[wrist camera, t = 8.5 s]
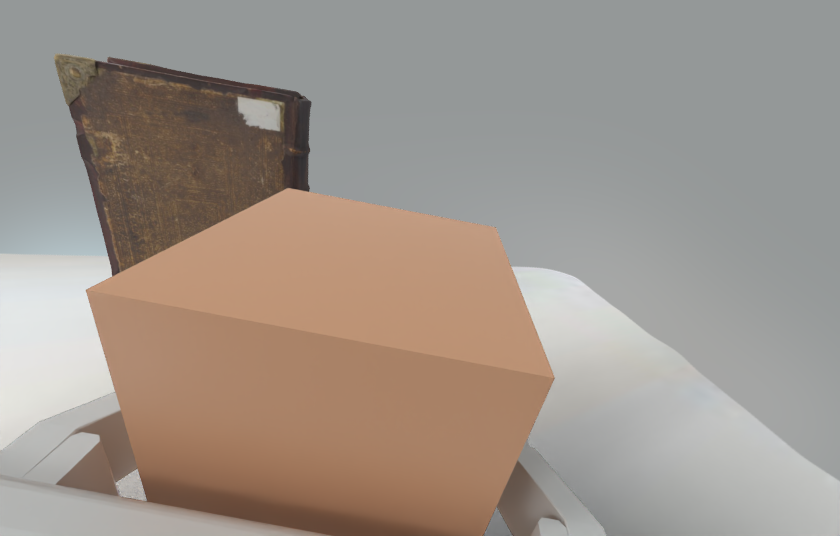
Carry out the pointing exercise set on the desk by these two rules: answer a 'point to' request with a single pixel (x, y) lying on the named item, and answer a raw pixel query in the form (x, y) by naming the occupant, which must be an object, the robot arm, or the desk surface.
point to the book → (178, 149)
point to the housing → (327, 368)
